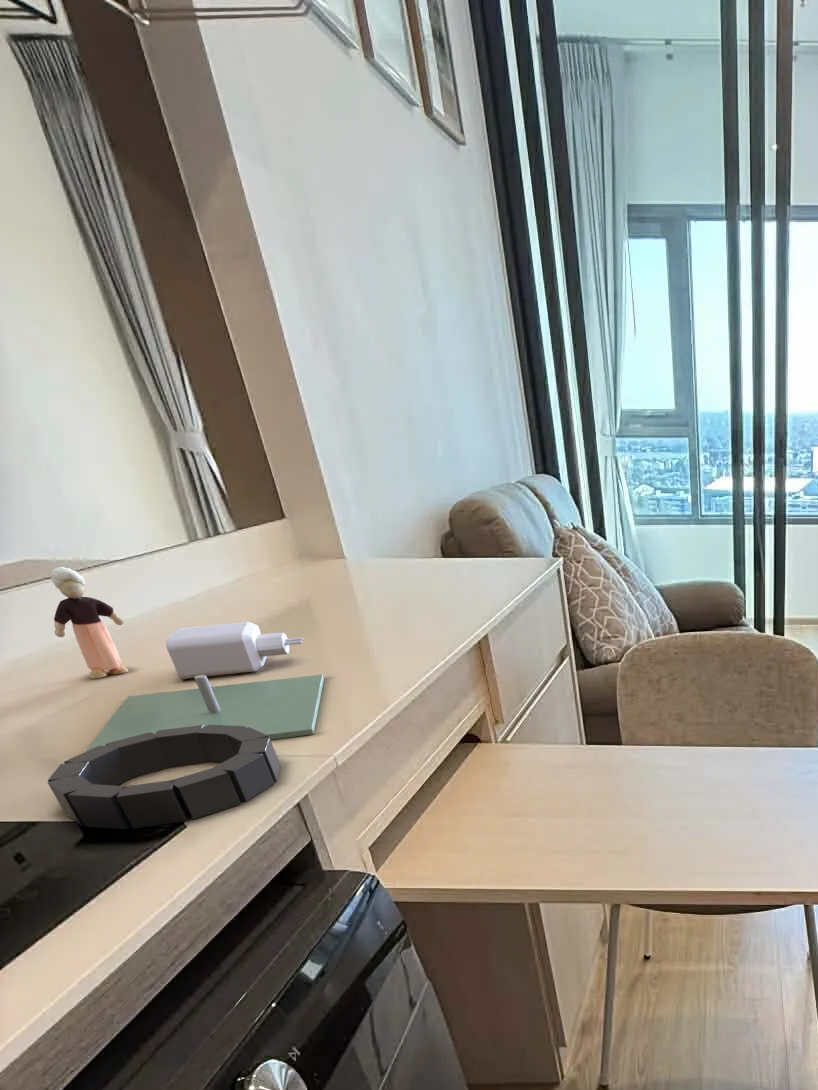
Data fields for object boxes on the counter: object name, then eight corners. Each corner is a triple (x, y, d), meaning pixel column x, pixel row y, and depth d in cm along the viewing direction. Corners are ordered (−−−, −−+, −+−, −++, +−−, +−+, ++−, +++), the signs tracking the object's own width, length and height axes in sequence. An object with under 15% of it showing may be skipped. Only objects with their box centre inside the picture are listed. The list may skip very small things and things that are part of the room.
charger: (306, 668, 112) (181, 682, 108) (310, 651, 119) (192, 663, 115) (293, 630, 109) (163, 642, 105) (298, 614, 116) (177, 626, 112)
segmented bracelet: (42, 842, 72) (22, 809, 70) (95, 769, 85) (79, 739, 83) (270, 809, 76) (257, 777, 74) (286, 744, 89) (275, 715, 88)
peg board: (82, 764, 86) (58, 719, 83) (130, 701, 102) (111, 662, 100) (313, 734, 92) (298, 691, 89) (324, 679, 108) (311, 641, 105)
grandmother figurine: (90, 682, 109) (35, 573, 101) (75, 678, 110) (20, 570, 103) (150, 667, 114) (102, 562, 106) (134, 663, 116) (86, 560, 108)
